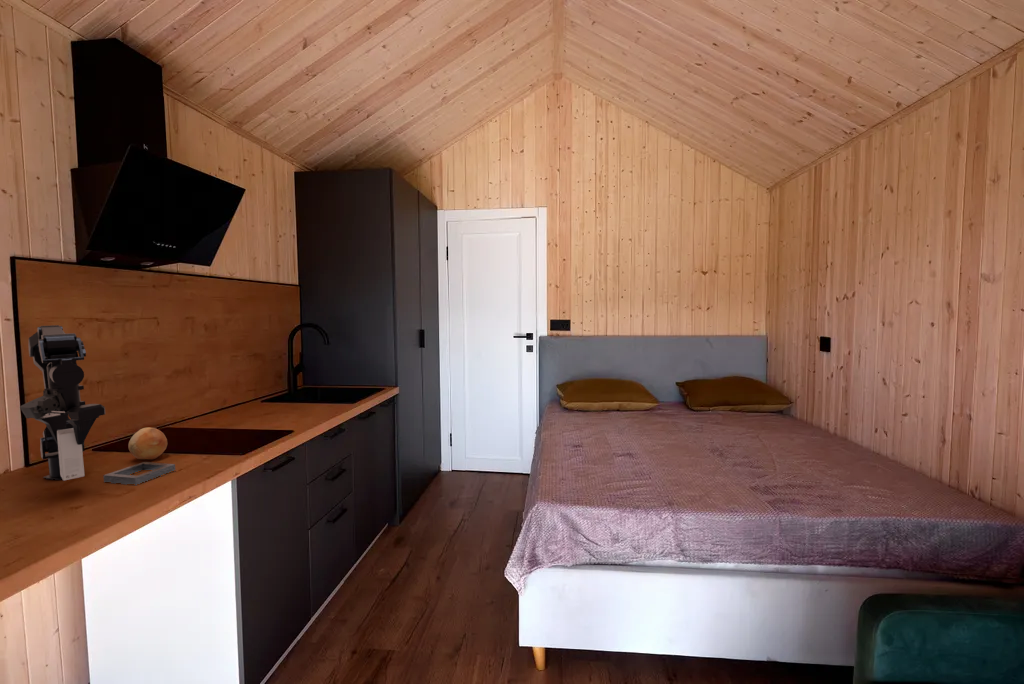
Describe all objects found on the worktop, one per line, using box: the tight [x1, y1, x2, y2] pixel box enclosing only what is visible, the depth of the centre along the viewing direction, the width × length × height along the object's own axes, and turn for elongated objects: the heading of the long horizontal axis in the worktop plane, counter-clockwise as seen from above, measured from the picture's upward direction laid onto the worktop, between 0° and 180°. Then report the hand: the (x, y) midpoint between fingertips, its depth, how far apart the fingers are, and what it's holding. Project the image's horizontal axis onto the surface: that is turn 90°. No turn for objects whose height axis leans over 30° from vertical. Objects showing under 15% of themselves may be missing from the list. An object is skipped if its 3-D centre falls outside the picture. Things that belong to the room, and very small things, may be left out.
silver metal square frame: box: [102, 461, 176, 486], centre depth 137 cm, size 11×11×2 cm
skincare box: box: [57, 428, 85, 481], centre depth 126 cm, size 6×4×12 cm
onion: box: [128, 427, 168, 460], centre depth 153 cm, size 10×10×10 cm
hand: (69, 443), depth 125 cm, fingers closed on skincare box, 7 cm apart
